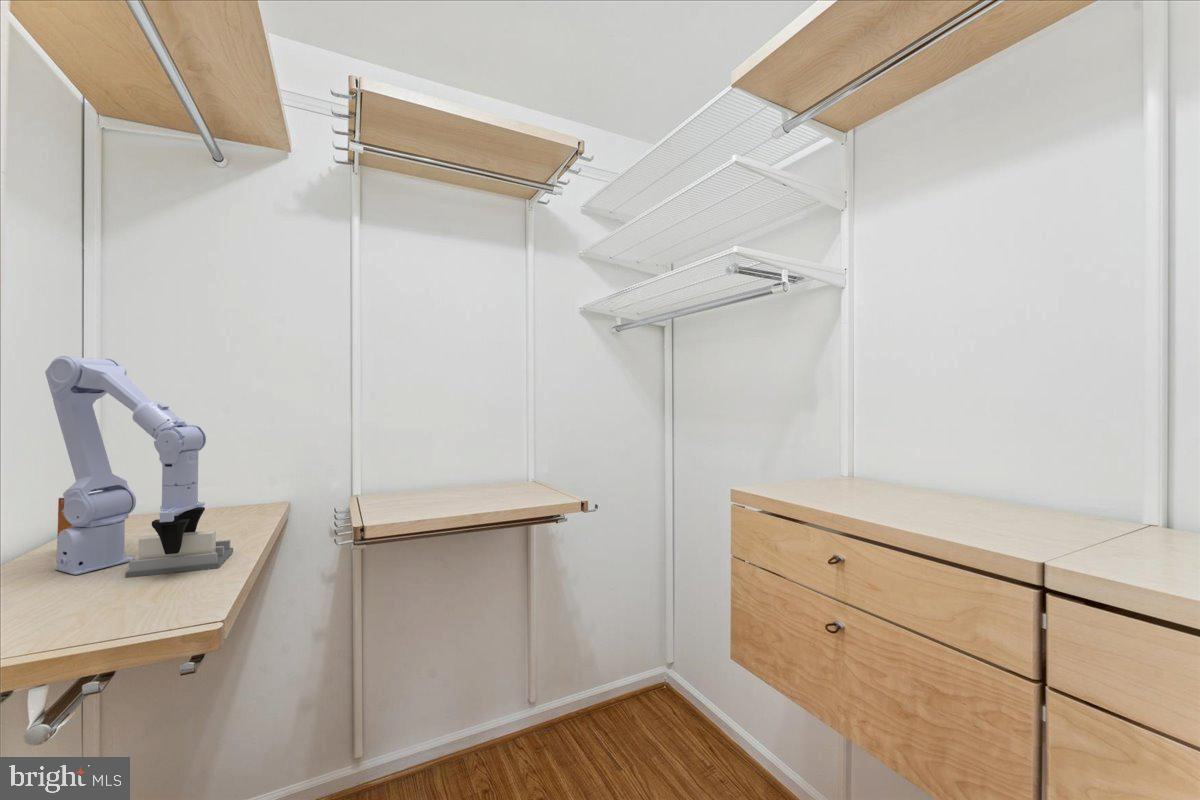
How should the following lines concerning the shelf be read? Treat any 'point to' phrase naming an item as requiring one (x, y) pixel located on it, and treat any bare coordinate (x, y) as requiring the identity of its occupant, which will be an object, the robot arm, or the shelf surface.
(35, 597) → the shelf surface
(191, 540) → the long beige block
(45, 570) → the shelf surface
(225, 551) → the ridged grey tray
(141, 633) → the shelf surface
